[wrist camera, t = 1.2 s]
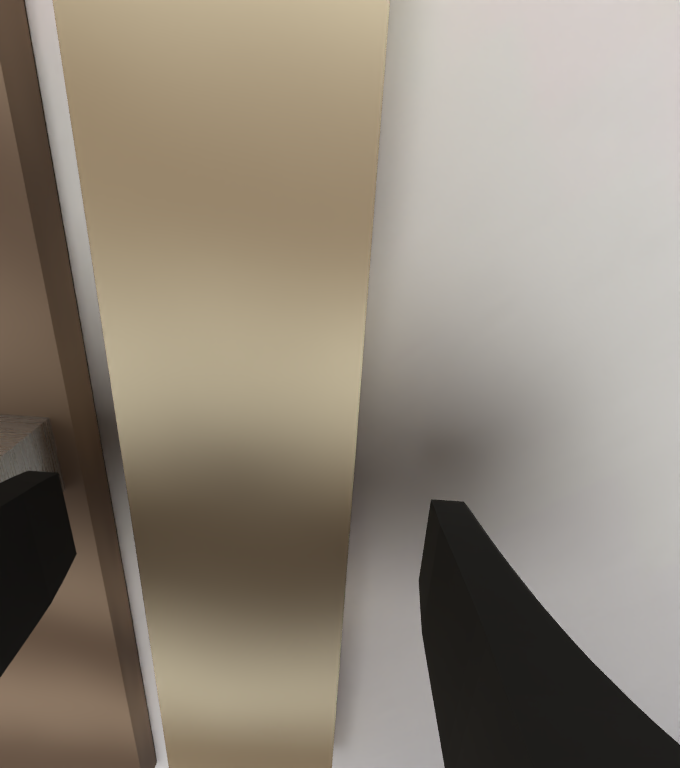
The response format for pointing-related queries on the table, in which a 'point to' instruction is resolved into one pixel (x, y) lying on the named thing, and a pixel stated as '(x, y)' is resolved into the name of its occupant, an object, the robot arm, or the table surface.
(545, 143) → the table surface
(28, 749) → the board
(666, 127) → the table surface
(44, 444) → the ridge
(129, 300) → the beech rod
